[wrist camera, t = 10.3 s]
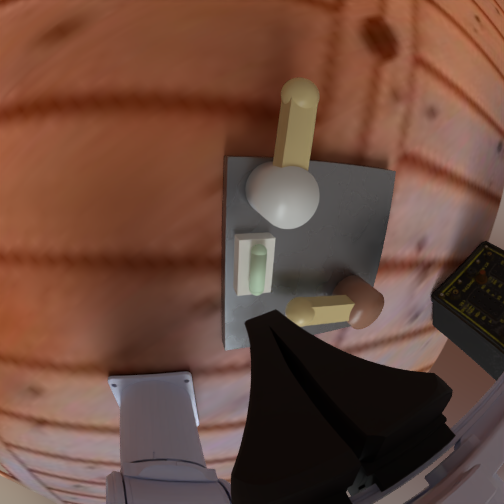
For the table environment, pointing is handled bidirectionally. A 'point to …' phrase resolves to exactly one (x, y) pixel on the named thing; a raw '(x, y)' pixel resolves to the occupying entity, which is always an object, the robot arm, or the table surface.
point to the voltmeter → (475, 308)
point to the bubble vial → (253, 263)
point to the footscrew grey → (289, 162)
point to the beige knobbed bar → (339, 305)
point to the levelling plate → (305, 240)
